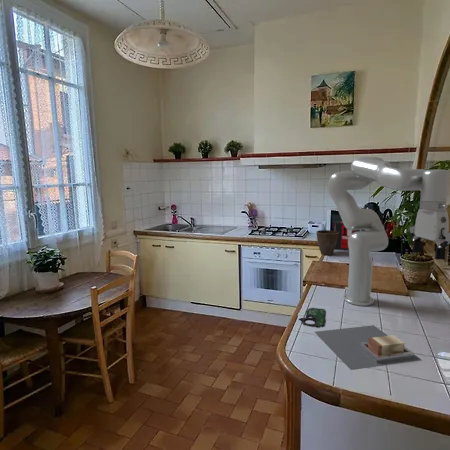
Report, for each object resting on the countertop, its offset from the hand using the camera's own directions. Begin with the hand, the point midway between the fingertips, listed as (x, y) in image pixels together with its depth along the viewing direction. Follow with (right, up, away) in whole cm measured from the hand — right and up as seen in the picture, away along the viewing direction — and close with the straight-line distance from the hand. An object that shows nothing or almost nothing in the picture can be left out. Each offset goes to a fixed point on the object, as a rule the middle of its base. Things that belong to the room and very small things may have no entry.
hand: (427, 255), depth 111 cm
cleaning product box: (+20, -8, +129) cm, 131 cm away
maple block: (-19, -30, -9) cm, 37 cm away
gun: (-36, -27, +16) cm, 48 cm away
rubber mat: (-24, -30, -5) cm, 39 cm away
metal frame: (-19, -30, -9) cm, 37 cm away
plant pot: (+1, -10, +114) cm, 114 cm away
